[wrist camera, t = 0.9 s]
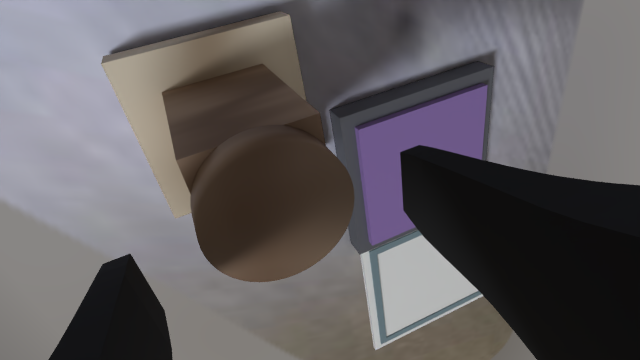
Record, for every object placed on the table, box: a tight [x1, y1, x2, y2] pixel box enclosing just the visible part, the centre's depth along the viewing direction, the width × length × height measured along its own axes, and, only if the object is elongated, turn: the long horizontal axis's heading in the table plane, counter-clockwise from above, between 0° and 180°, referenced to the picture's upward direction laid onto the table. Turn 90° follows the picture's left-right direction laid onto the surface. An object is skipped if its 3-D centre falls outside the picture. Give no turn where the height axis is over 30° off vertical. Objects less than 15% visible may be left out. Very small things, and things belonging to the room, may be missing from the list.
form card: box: [360, 230, 483, 350], centre depth 29 cm, size 11×11×1 cm
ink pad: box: [330, 61, 494, 254], centre depth 22 cm, size 9×9×2 cm
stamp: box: [101, 11, 355, 282], centre depth 14 cm, size 7×7×9 cm
